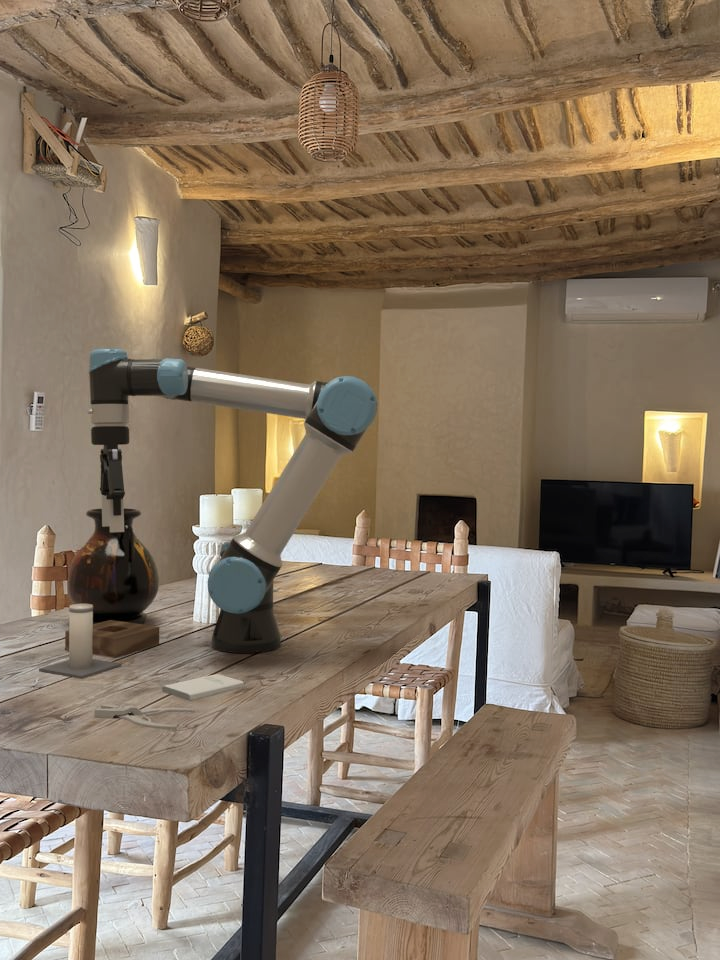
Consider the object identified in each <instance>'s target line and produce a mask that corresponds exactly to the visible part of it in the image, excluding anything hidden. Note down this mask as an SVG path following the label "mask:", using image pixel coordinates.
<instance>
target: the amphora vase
mask: <svg viewBox="0 0 720 960" xmlns="http://www.w3.org/2000/svg"><path fill="white" fill-rule="evenodd" d="M141 515H142V512H141V511H140V510H139V509H136V508H125V507H124V532H110V526H105V527H103V526H102V508H95V509H88V510H87V511H86V516H87V517H88V518H91V519H92V520H94V521H93V522H94V532H93V533H92V535H91V537H89V539H88V540H87V541H85V543H84V544H83V545H82V546H81V547H80V548H79V549H78V550H77V552H76V554H75V556H74V557H73V559H72V561H71V564H70V567H69V570H68V576H67V581H66V583H67V584H66V585H67V594H68V598H69V599H70V602H71V603H72V605H73V604H92V605H93V624H96V623H100V622H104V621H108V620H114V621H122V622H129V623H136V624H144V625H146V623H147V622H148V620H149V616H148V614H147V613H146V612H144V611H145V610H147V609H148V608H149V607H150V605H152V603H153V602H154V600H155V599H156V597H157V595H158V591H159V581H160V579H159V574H158V568H157V565H156V563H155V562H156V561H155V560H154V557H153V555H152V553H151V552H150V550H149V549H148V548H147V547H146V546H145V544H143V542H142V541H141V540H140V539H139V538H138V537H137V536H136V534H135V533H134V529H133V523H134V519H136V518H139V517H141Z"/></svg>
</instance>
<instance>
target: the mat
mask: <svg viewBox="0 0 720 960" xmlns="http://www.w3.org/2000/svg"><path fill="white" fill-rule="evenodd" d="M122 666H123V665H122V663H121V662H115V661H109V660H104V659H103V660H102V659H96V658H92V666H91V667H89V668H83V669H74V668H70V667H69V659H67V660H63V661H60V662H57V663H54V664H50V665H46V666H42V667H40V668H38V669H39V671H38V672H44V673H48V674H53V673H54V674H55V675H59V674H60V675H61V676H64V675H66V677H70V676H72V677H71V678H76V677H77V679H81V678H82V679H85V678H89V677H91V676H95V675H97V674H101V673H103V672H108V671H110V670H113V669H117V668H119V667H120V668H121V667H122ZM60 675H59V676H60ZM88 676H89V677H88ZM84 677H85V678H84Z"/></svg>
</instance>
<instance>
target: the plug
mask: <svg viewBox="0 0 720 960" xmlns="http://www.w3.org/2000/svg"><path fill="white" fill-rule="evenodd" d="M68 611H69V612H68V614H69V615H68V616H69V617H68V618H69V621H68V623H69V624H68V628H69V650H68V660H69V667H70V668H74V669H83V668H89V667H91V666H92V659H93V654H92V645H93V605H92V604H73V603H72V604H70V605H69V607H68Z"/></svg>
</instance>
